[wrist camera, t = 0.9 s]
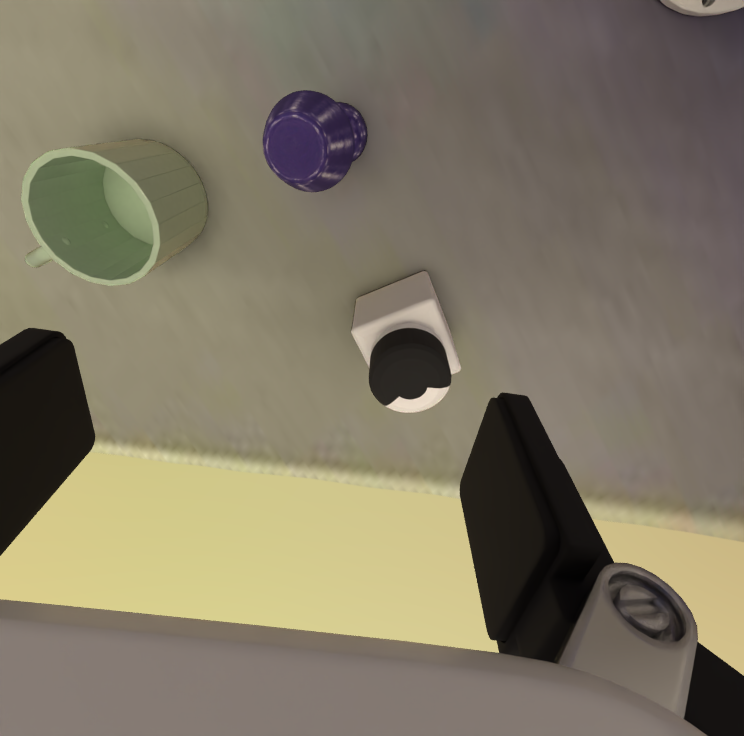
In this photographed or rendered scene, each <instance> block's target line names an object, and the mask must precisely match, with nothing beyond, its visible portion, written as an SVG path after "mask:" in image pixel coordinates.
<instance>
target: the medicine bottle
mask: <svg viewBox="0 0 744 736" xmlns="http://www.w3.org/2000/svg"><path fill="white" fill-rule="evenodd" d="M351 333H352V335H353V337H354V339H355V341H356V343H357V345H358V347H359V349H360V351H361V353H362V355H363V357H364V359H365V361H366V363H367V364H368V366H369V384H370V388H371V391H372V393H373V395H374V396H375V397H376V399H377V400H378V401H379V402H380V403H381V404H383V405H384V406H386V407H388V408H390V409H392V410H395V411H399V412H407V413H411V412H419V411H423V410H426V409H428V408H431V407H432V406H434V405H436V404H437V403H438V402H439V401H440V400H441V399H442V398H443V397H444V396H445V395H446V393H447V391H448V390H449V387H450V383H451V374H454V373H457V372H459V371H460V370H461V366H460V362H459V359H458V355H457V352H456V349H455V345H454V342H453V338H452V335H451V332H450V329H449V327H448V324H447V321H446V319H445V316H444V314H443V311H442V308H441V306H440V303H439V301H438V298H437V295H436V293H435V290H434V288H433V285H432V282H431V280H430V277H429V275H428V273H427V272H426V271H422V272H420V273H417V274H415V275H412V276H410V277H407V278H405V279H403V280H400V281H398V282H395V283H393V284H390V285H388V286H385V287H383V288H380V289H378V290H376V291H373V292H371V293H368V294H366V295H363V296H361V297H358V298H357V299H356V302H355V309H354V315H353V322H352V329H351Z"/></svg>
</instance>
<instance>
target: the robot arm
mask: <svg viewBox="0 0 744 736" xmlns="http://www.w3.org/2000/svg"><path fill="white" fill-rule="evenodd" d="M660 1H661V2H662V3H663V4H664V5H666V6H667V7H669V8H671V9H673V10H675V11H677V12H679V13H682V14H687V15H693V16H699V17H700V16H711V15H719V14H723V13H727V12H731V11H735V10H738V9H740V8H742V7H744V0H704V2H703V4H702V0H660ZM94 442H95V432H94V428H93V424H92V420H91V416H90V411H89V407H88V403H87V399H86V395H85V391H84V387H83V382H82V378H81V374H80V370H79V366H78V362H77V358H76V353H75V349H74V346H73V343H72V342H71V341H70V340H68V339H66V337H65V336H64V334H63V333H61V332H58V331H51V330H43V329H36V328H28V329H25V330H23V331H22V332H20V333H19V334H17V335H15V336H14V337H12V338H10V339H9V340H7V341H6V342H4V343H2V344H1V345H0V556H1V554H2V553H3V552H4V551H5V550H6V549H7V547H8V546H9V545H10V544H11V542H13V540H14V539H15V538H16V537H17V536H18V535H19V533H20V532H21V531H22V530H23V529H24V528H25V526H26V525H27V524H28V523H29V522H30V521H31V519H32V518H33V517H34V516H35V515H36V514H37V512H38V511H39V510H40V509H41V508H42V507H43V505H44V504H45V503H46V502H47V501H48V500H49V498H50V497H51V496H52V495H53V494H54V493H55V491H56V490H57V489H58V488H59V487H60V485H61V484H62V483H63V482H64V481H65V480H66V479H67V477H68V476H69V475H70V474H71V473H72V471H73V470H74V469H75V468H76V467H77V466H78V465H79V463H80V462H81V461H82V460H83V459H84V458H85V456H86V455H87V454H88V453H89V452H90V450H91V449H92V447H93V445H94ZM460 498H461V503H462V508H463V512H464V518H465V523H466V527H467V533H468V538H469V543H470V548H471V553H472V558H473V563H474V568H475V572H476V578H477V583H478V588H479V593H480V598H481V603H482V608H483V613H484V618H485V623H486V628H487V632H488V635H489V637H490V639H491V640H497V644H498V649H499V653H495V652H487V651H479V650H471V649H463V648H455V647H447V646H438V645H431V644H423V643H415V642H407V641H398V640H389V639H379V638H370V637H361V636H351V635H341V634H333V633H323V632H314V631H304V630H296V629H286V628H277V627H267V626H258V625H249V624H239V623H229V622H219V621H210V620H200V619H190V618H181V617H171V616H161V615H151V614H142V613H132V612H121V611H112V610H102V609H91V608H81V607H72V606H61V605H52V604H41V603H32V602H21V601H11V600H0V736H744V676H743V675H742V674H740V673H739V672H738V671H736V670H735V669H734V668H732V667H731V666H730V665H728V664H727V663H726V662H724V661H723V660H721V659H720V658H719V657H717V656H716V655H715V654H713V653H712V652H711V651H709V650H708V649H707V648H705V647H704V646H703V645H701V644H700V643H699V642H697V640H698V633H697V625H696V622H695V620H694V618H693V615H692V612H691V611H690V609H689V608H688V607H687V605H686V604H685V602H684V601H683V599H682V598H681V597H680V596H679V595H678V594H677V593H676V592H675V591H674V590H673V589H672V588H671V587H670V586H669V585H668V584H667V583H665V582H664V581H663V580H661V579H660V578H659V577H657V576H656V575H654V574H653V573H651V572H649V571H647V570H645V569H643V568H641V567H638V566H635V565H632V564H628V563H614V561H613V559H612V558H611V556H610V554H609V552H608V550H607V548H606V546H605V544H604V542H603V540H602V538H601V536H600V534H599V532H598V530H597V528H596V526H595V524H594V522H593V520H592V518H591V516H590V514H589V512H588V510H587V508H586V506H585V504H584V503H583V501H582V499H581V497H580V495H579V493H578V491H577V489H576V487H575V485H574V483H573V481H572V479H571V477H570V475H569V473H568V471H567V469H566V467H565V465H564V464H563V462H562V461H561V459H559V457H558V455H557V453H556V451H555V449H554V447H553V445H552V443H551V441H550V439H549V437H548V435H547V433H546V431H545V429H544V427H543V425H542V423H541V421H540V419H539V417H538V415H537V413H536V411H535V409H534V407H533V405H532V403H531V401H530V400H529V398H528V397H527V396H524V395H517V394H510V393H500V395H499V396H498V398H491V399H490V401H489V403H488V406H487V409H486V412H485V414H484V417H483V420H482V423H481V426H480V428H479V431H478V434H477V437H476V440H475V442H474V445H473V448H472V451H471V454H470V457H469V459H468V462H467V465H466V468H465V471H464V473H463V476H462V479H461V483H460Z"/></svg>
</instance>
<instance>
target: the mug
mask: <svg viewBox="0 0 744 736" xmlns="http://www.w3.org/2000/svg"><path fill="white" fill-rule="evenodd" d="M21 201H22V206H23V210H24V214H25V219H26V220H27V221H26V222H27V223H28V225H29V227H30V229H31V231H32V233H33V235H34V237H35V239H36V240H37V241H38V243H39V244H40V245H41V246H39V247H38V248H36V249H34V250H33V251H31V252H29V253H28V254H27V255H26V256H25V262H26V263H27V264H28V265H29V266H31V267H34V268H37V267H40V266H43V265H45V264H47V263H49V262H51V261H53V260H54V261H55V262H57V263H58V264H59V265H61V266H62V267H63V268H65V269H66V270H67V271H69V272H70V273H72V274H73V275H76V276H78V277H80V278H82V279H85V280H87V281H89V282H92V283H96V284H102V285H108V286H117V285H125V284H131V283H133V282H135V281H136V280H138V279H140V278H142V277H144V276H146V275H147V274H148V273H150V272H151V271H153V270H154V269H155V268H157V267H158V266H160V265H161V264H163V263H164V262H165V261H167V260H168V259H170V258H171V257H173V256H174V255H175V254H177V253H178V252H180V251H181V250H183V249H184V248H185V247H187V246H188V245H190V244H191V243H192V242H193V241H194V240H195V239H196V238H197V237H198V236H199V235H200V234H201V232H202V230H203V228H204V226H205V223H206V219H207V212H208V205H207V198H206V193H205V190H204V187H203V185H202V182H201V180H200V178H199V176H198V175H197V173H196V172H195V170H194V169H193V167H192V166H191V165H190V164H189V163H188V161H187V160H186V159H184V158H183V157H182V156H181V155H180V154H179V153H177V152H176V151H175V150H173V149H171V148H170V147H168V146H166V145H164V144H161V143H159V142H156V141H152V140H146V139H134V140H126V141H118V142H110V143H102V144H94V145H86V146H78V147H70V148H63V149H57V150H51V151H48V152H46V153H45V154H43V155H42V156H40V157H39V158H37V159H36V160H34V161H33V162H32V163H31V165H30V167H29V169H28V171H27V172H26V174H25V176H24V178H23V184H22V194H21Z"/></svg>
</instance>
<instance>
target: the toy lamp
mask: <svg viewBox="0 0 744 736" xmlns="http://www.w3.org/2000/svg"><path fill="white" fill-rule="evenodd" d="M366 142H367V127H366V124H365V121H364V119H363V117H362V116H361V114H360V113H359V111H358V110H356V109H355V108H354V107H353V106H351V105H349V104H347V103H342V102H335V101H334V100H333V99H331V98H330V97H328V96H327V95H324V94H322V93H319V92H315V91H307V90H304V91H297V92H293V93H291V94H289V95H287V96H285V97H284V98H282V99H281V100H280V101H279V102H278V103H277V104H276V105H275V106H274V108H273V109H272V111H271V113H270V114H269V117H268V119H267V121H266V125H265V129H264V134H263V151H264V155H265V158H266V161H267V163H268V165H269V167H270V168H271V170H272V171H273V172H274V173H275V174H276V175H277V176H278V177H279V178H280V179H281V180H283V181H284V182H285V183H287V184H288V185H290V186H292V187H294V188H296V189H298V190H302V191H306V192H319V191H324V190H327V189H329V188H331V187H333V186H334V185H336V184H337V183H338V182H339V181H341V180H342V178H343V177H344V176H345V175H346V174H347V172H348V170H349V168H350V166H351V163H352V162H353V161H355V160H356V159H357V158H358V157H359V156H360V155H361V153H362V152H363V150H364V148H365V145H366Z"/></svg>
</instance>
